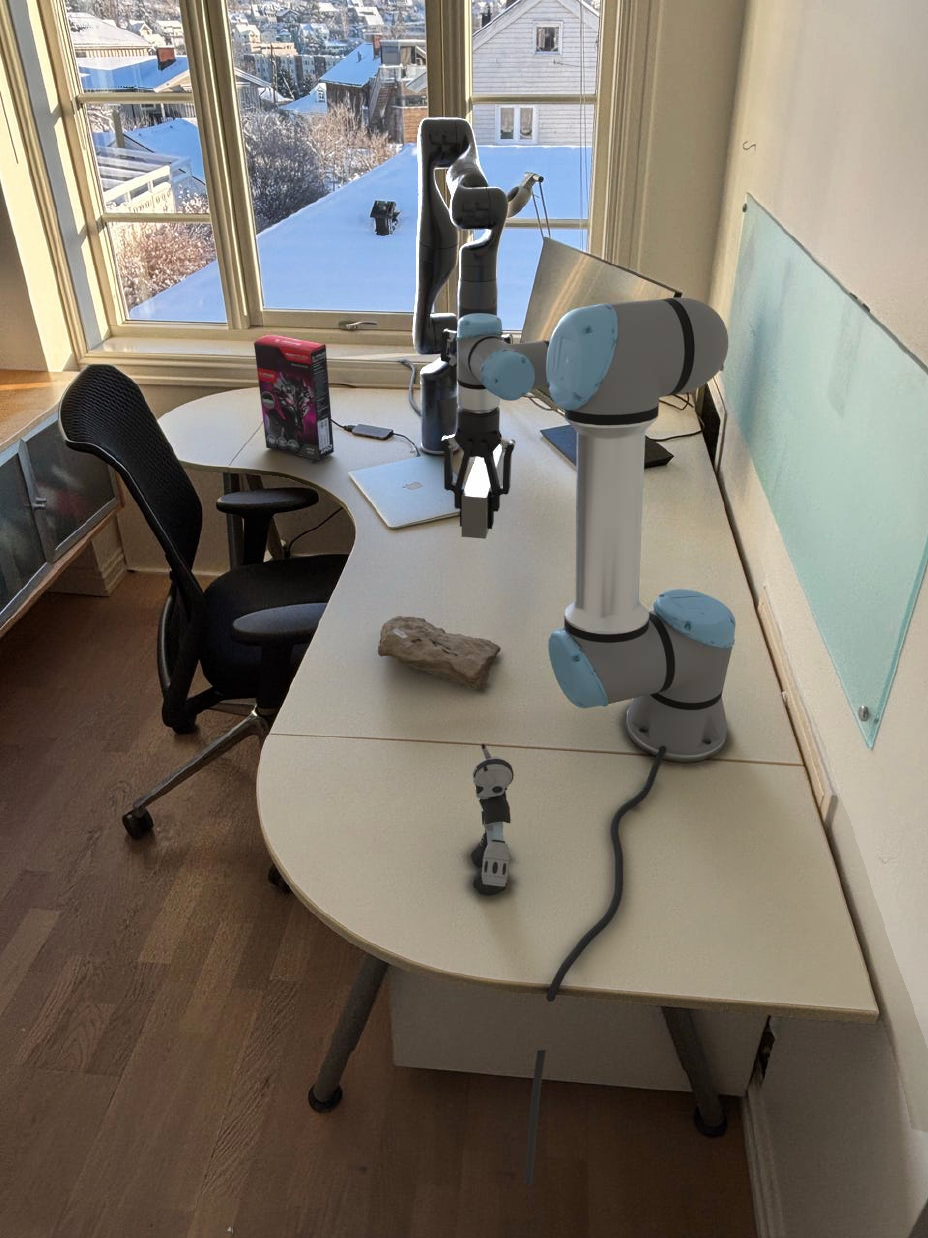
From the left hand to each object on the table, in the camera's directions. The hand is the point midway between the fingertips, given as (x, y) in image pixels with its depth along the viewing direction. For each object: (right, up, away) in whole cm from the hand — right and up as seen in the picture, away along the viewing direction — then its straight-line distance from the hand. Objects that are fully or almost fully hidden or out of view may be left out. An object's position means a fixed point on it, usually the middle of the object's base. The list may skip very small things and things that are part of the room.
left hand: (476, 384), depth 184 cm
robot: (+1, -80, -64) cm, 102 cm away
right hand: (0, -29, -10) cm, 30 cm away
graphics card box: (-43, -5, +46) cm, 64 cm away
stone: (-8, -55, -27) cm, 61 cm away
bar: (+1, -25, -2) cm, 25 cm away
